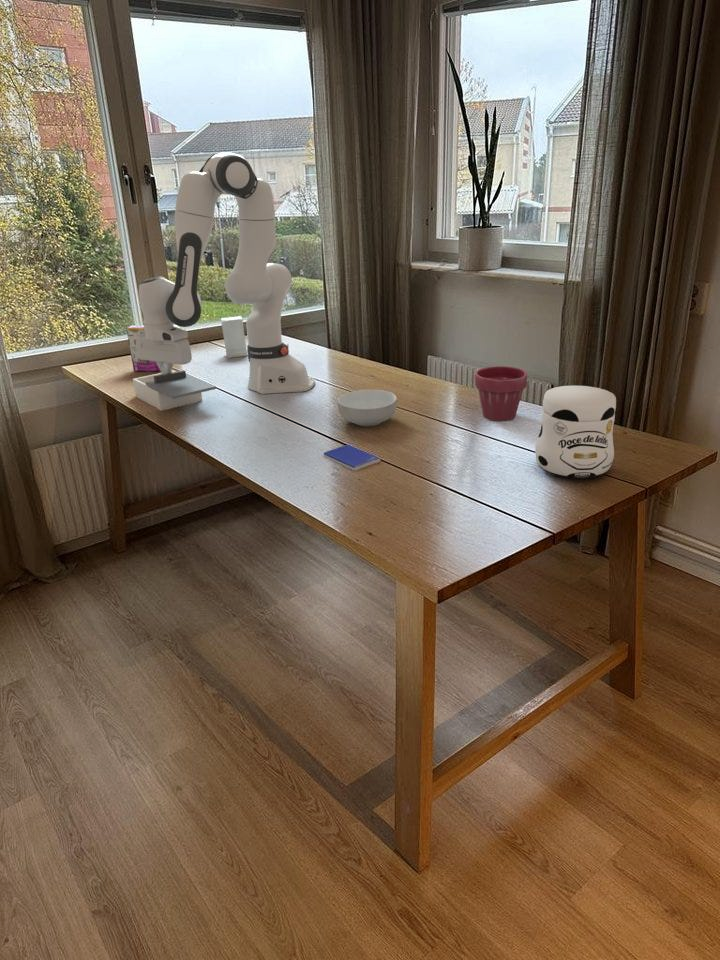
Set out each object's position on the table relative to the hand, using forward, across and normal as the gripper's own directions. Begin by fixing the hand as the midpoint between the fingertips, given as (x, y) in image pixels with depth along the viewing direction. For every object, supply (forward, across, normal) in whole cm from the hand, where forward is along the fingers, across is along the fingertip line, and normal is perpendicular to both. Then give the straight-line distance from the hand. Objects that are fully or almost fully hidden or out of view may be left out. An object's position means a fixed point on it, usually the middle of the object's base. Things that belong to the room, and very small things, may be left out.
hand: (166, 375), depth 213 cm
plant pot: (+8, +101, +26) cm, 104 cm away
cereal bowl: (+8, +68, +7) cm, 69 cm away
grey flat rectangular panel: (+2, +9, -4) cm, 10 cm away
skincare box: (+8, -16, +54) cm, 57 cm away
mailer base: (+8, -1, 0) cm, 8 cm away
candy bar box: (+8, -33, +24) cm, 42 cm away
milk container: (+8, +128, -3) cm, 128 cm away
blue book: (+9, +78, -18) cm, 80 cm away
